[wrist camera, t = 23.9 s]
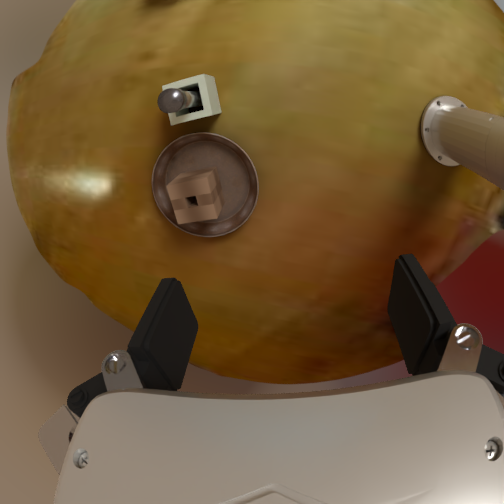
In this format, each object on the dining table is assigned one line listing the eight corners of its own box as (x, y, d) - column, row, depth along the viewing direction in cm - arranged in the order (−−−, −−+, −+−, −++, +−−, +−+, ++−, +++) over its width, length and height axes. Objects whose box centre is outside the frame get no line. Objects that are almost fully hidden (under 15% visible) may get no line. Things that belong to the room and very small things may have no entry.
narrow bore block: (216, 166, 39) (207, 177, 34) (224, 202, 42) (217, 218, 37) (180, 173, 40) (166, 185, 35) (189, 207, 43) (178, 224, 38)
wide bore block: (214, 76, 34) (203, 73, 29) (221, 112, 37) (212, 115, 32) (177, 86, 35) (162, 86, 30) (184, 121, 38) (171, 125, 33)
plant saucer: (142, 154, 42) (134, 158, 39) (238, 114, 37) (235, 115, 35) (183, 239, 50) (178, 247, 48) (273, 213, 46) (273, 221, 43)
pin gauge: (206, 87, 35) (179, 84, 24) (210, 105, 36) (184, 109, 26) (188, 92, 35) (155, 92, 25) (192, 109, 37) (160, 116, 26)
